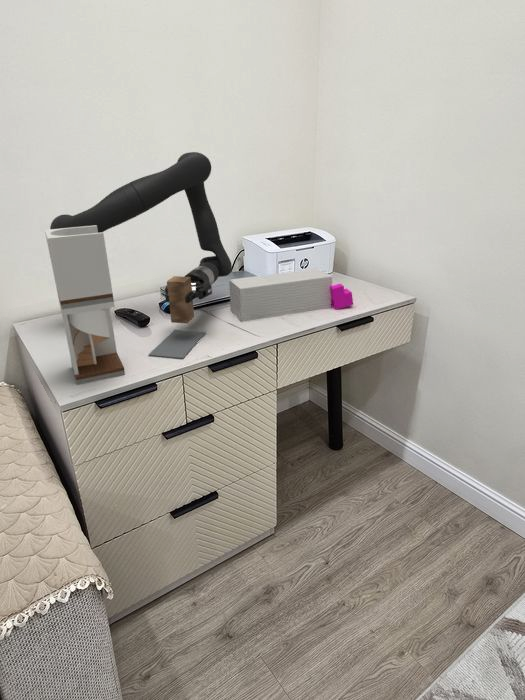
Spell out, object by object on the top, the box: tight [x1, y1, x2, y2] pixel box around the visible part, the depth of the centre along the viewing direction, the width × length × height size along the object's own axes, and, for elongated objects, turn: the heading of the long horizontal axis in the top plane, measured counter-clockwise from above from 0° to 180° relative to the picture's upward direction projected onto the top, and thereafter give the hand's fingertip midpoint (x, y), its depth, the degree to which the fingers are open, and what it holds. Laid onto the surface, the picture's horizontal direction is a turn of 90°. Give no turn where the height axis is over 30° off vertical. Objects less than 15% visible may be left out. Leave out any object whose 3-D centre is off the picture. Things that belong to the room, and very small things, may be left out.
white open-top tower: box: [44, 225, 126, 385], centre depth 116 cm, size 11×11×35 cm
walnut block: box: [166, 275, 195, 324], centre depth 136 cm, size 5×5×12 cm
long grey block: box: [228, 268, 333, 322], centre depth 160 cm, size 32×11×11 cm, turn 112°
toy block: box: [330, 283, 354, 311], centre depth 166 cm, size 15×6×8 cm, turn 15°
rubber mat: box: [147, 329, 207, 360], centre depth 137 cm, size 10×18×1 cm, turn 166°
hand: (177, 299), depth 134 cm, fingers closed on walnut block, 5 cm apart
